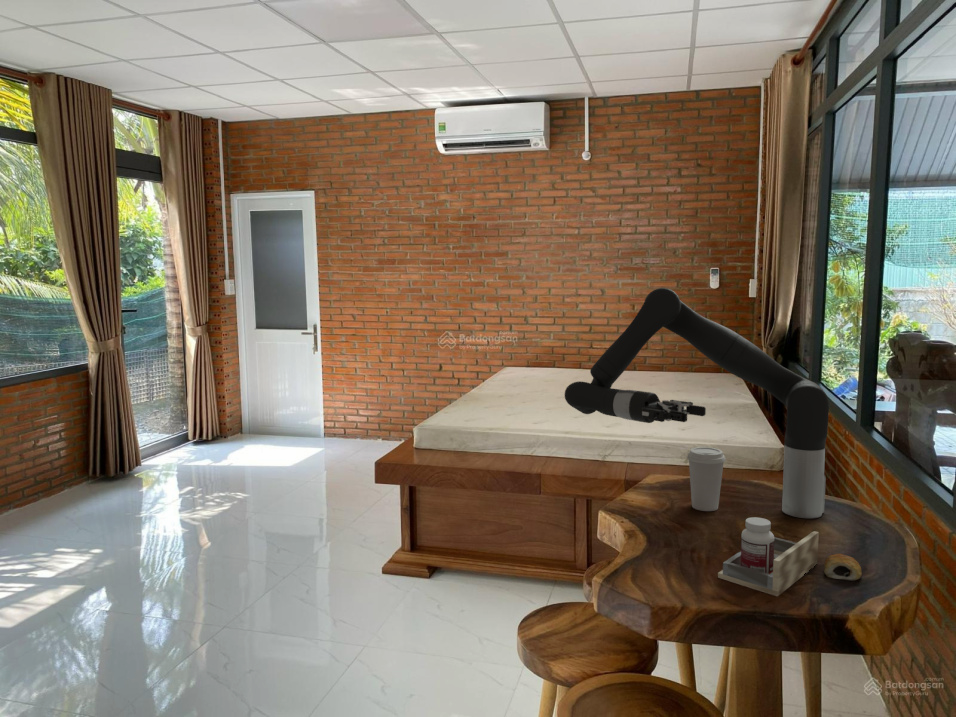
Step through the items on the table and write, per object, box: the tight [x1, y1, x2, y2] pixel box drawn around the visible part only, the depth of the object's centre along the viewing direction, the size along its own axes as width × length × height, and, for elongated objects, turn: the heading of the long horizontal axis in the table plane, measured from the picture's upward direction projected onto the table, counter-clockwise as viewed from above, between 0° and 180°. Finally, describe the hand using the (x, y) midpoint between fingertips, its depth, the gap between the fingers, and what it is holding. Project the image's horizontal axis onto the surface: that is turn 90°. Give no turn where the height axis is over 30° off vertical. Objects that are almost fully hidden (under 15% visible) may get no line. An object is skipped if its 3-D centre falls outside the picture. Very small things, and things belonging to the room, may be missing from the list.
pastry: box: [823, 553, 863, 582], centre depth 144 cm, size 9×7×4 cm
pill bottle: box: [740, 516, 775, 574], centre depth 141 cm, size 6×6×11 cm
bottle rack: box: [717, 530, 820, 598], centre depth 145 cm, size 20×12×7 cm, turn 135°
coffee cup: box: [686, 446, 726, 512], centre depth 183 cm, size 10×10×15 cm
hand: (695, 414), depth 165 cm, fingers open, 8 cm apart
